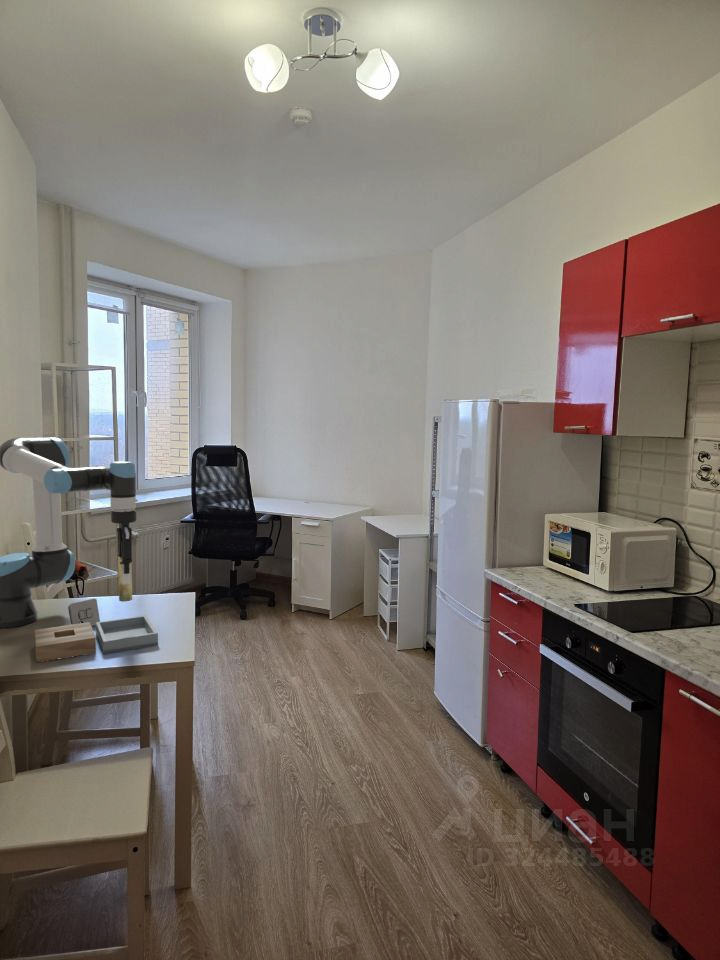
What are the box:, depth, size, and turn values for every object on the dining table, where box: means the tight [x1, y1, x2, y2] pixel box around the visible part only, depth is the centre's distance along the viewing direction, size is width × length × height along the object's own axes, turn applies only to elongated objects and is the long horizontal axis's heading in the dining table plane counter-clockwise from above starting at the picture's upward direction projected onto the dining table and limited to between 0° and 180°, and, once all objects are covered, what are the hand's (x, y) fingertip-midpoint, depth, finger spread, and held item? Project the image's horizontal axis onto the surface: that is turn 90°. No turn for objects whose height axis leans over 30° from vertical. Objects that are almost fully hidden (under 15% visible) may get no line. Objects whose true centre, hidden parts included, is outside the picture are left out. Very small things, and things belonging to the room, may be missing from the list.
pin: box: [117, 556, 133, 603], centre depth 192 cm, size 4×4×14 cm
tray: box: [95, 614, 159, 655], centre depth 194 cm, size 20×16×4 cm
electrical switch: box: [67, 598, 101, 627], centre depth 206 cm, size 9×5×9 cm, turn 141°
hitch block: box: [34, 622, 97, 663], centre depth 185 cm, size 16×16×5 cm
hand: (125, 581), depth 192 cm, fingers closed on pin, 4 cm apart
